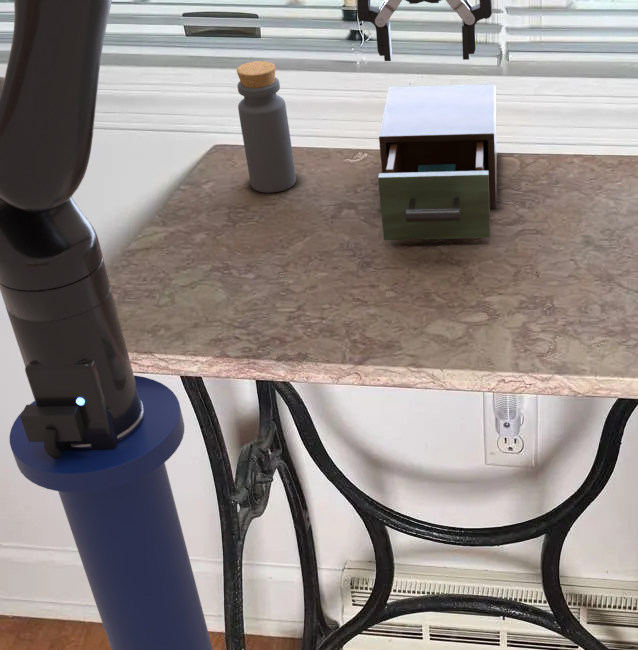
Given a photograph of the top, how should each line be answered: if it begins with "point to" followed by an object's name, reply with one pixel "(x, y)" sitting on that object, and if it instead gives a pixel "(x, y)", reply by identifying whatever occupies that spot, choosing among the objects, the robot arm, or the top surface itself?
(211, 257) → the top surface
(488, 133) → the cabinet
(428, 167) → the block
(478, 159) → the drawer
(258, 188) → the bottle
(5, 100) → the robot arm
